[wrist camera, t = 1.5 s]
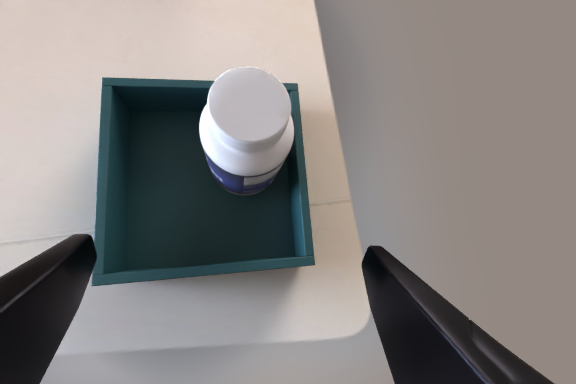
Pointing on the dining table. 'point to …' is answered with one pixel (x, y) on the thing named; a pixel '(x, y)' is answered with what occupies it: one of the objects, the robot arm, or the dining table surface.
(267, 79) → the pill bottle
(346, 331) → the dining table surface
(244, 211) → the bin
